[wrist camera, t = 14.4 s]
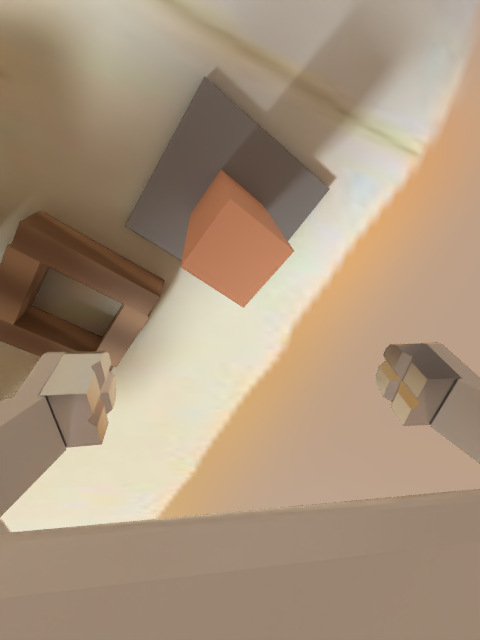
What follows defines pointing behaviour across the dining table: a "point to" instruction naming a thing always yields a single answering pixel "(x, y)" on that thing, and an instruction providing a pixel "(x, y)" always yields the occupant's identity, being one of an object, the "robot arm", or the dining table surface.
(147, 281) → the socket holder
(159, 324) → the dining table surface
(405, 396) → the robot arm
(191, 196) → the slate mat
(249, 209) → the terracotta peg
